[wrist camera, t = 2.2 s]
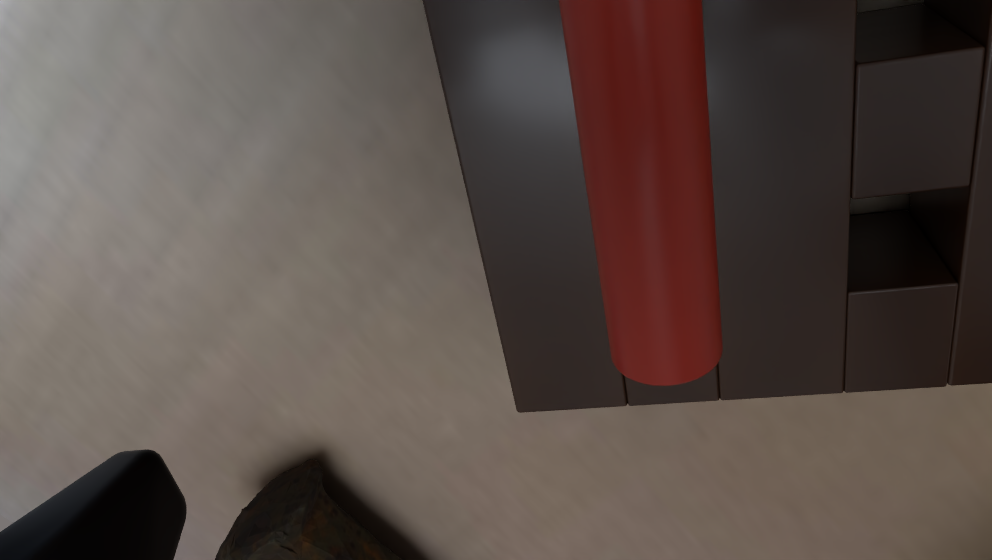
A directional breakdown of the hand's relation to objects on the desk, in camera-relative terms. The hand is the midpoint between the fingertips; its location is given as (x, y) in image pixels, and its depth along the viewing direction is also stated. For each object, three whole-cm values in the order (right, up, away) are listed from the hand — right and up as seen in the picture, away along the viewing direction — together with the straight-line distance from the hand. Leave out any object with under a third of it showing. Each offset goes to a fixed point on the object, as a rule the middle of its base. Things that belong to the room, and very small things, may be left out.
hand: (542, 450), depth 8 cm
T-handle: (+3, +8, +10) cm, 13 cm away
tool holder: (+6, +6, +10) cm, 13 cm away
